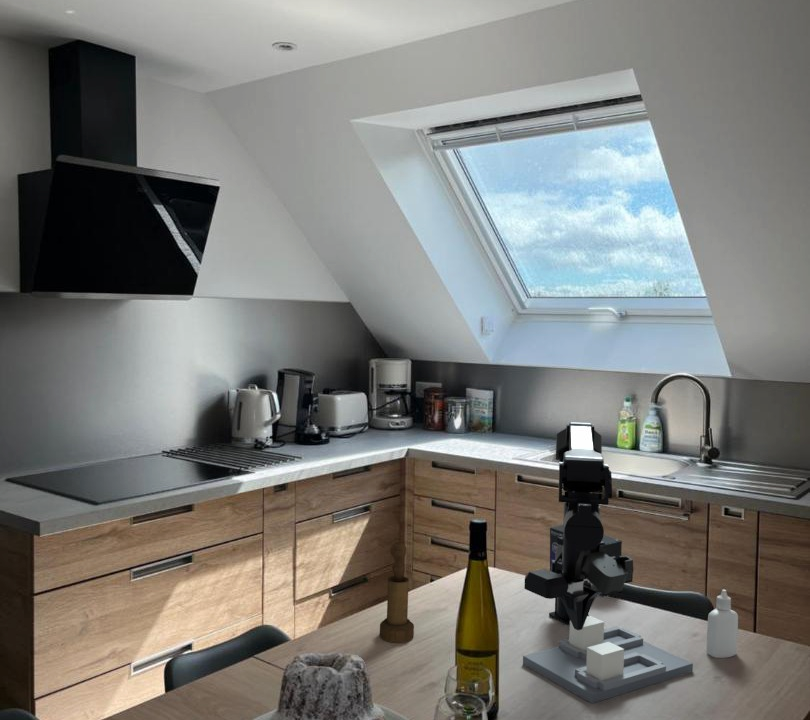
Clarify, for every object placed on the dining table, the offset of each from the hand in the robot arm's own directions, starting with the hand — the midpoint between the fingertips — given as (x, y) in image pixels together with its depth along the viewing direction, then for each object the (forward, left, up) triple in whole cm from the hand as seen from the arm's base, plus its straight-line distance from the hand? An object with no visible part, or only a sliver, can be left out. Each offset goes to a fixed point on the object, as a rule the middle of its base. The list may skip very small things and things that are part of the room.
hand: (578, 629), depth 135 cm
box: (-41, +41, -11) cm, 60 cm away
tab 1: (-11, +12, -9) cm, 19 cm away
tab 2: (0, +6, -9) cm, 11 cm away
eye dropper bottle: (+1, +35, -11) cm, 37 cm away
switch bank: (-5, +12, -11) cm, 17 cm away
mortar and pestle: (-35, -13, -11) cm, 39 cm away
